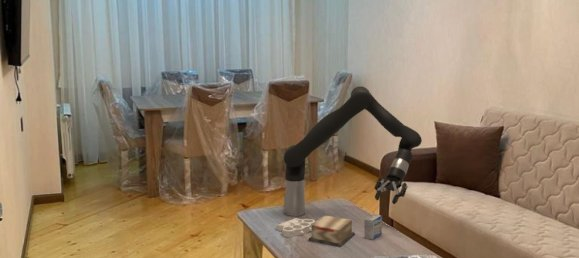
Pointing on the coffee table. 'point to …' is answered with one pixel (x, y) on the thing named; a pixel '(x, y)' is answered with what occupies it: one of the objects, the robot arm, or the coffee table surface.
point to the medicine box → (373, 226)
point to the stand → (332, 231)
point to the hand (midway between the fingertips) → (384, 201)
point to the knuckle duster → (295, 227)
